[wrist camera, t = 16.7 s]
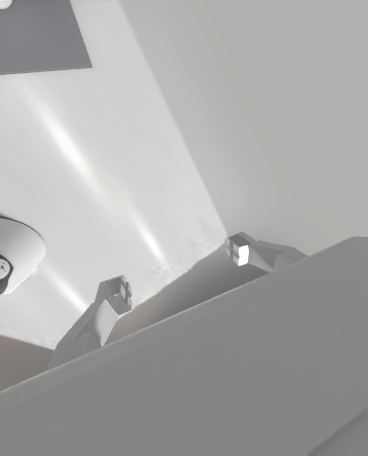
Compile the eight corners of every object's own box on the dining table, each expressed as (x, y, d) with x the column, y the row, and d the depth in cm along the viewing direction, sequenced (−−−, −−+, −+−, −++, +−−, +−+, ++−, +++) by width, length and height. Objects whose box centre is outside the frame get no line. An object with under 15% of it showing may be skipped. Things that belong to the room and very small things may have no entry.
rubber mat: (-20, 76, 22) (-24, 74, 22) (-131, -97, 16) (-140, -106, 15) (92, 67, 26) (91, 65, 25) (41, -80, 19) (38, -86, 18)
